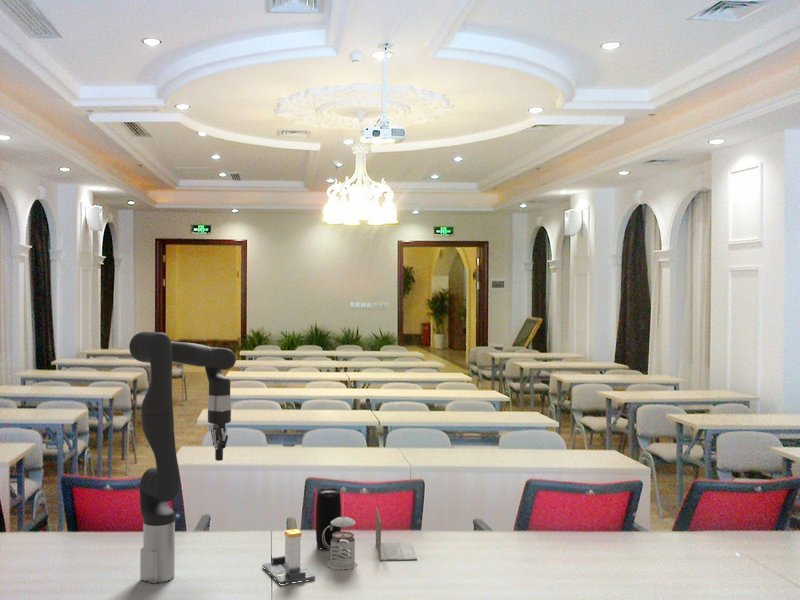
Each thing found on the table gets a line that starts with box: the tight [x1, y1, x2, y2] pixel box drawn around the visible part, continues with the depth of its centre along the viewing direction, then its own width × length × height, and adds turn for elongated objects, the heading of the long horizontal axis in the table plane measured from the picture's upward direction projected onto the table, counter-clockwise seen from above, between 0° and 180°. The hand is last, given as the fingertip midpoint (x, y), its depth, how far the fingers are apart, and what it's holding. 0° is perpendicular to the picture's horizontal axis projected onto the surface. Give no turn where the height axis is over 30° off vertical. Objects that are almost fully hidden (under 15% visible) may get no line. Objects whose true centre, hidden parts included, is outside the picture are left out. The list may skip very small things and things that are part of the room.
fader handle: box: [284, 528, 302, 574], centre depth 255 cm, size 4×4×13 cm
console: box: [262, 555, 316, 584], centre depth 259 cm, size 17×11×3 cm, turn 27°
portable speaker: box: [315, 487, 342, 550], centre depth 285 cm, size 9×9×20 cm
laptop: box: [375, 507, 418, 562], centre depth 281 cm, size 18×12×13 cm
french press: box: [322, 486, 358, 571], centre depth 267 cm, size 10×12×25 cm
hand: (219, 460), depth 277 cm, fingers closed
